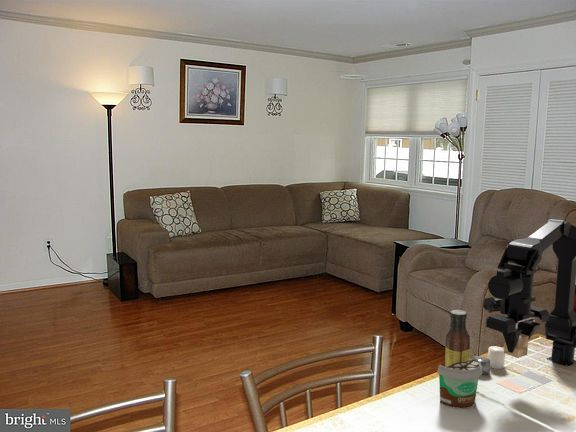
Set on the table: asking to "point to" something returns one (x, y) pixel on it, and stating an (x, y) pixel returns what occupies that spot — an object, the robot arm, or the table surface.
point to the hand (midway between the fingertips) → (515, 350)
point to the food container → (459, 383)
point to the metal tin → (484, 364)
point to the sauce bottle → (457, 339)
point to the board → (524, 382)
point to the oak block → (519, 347)
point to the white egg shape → (496, 357)
